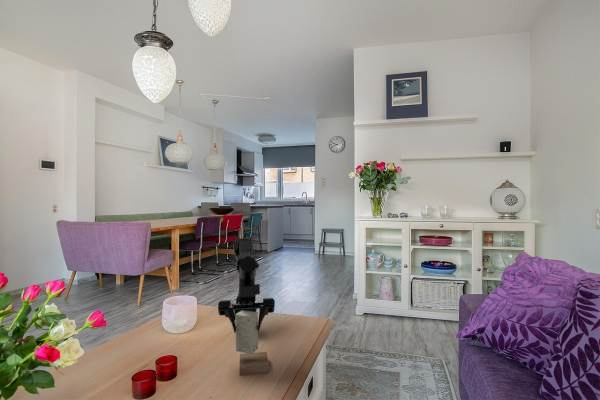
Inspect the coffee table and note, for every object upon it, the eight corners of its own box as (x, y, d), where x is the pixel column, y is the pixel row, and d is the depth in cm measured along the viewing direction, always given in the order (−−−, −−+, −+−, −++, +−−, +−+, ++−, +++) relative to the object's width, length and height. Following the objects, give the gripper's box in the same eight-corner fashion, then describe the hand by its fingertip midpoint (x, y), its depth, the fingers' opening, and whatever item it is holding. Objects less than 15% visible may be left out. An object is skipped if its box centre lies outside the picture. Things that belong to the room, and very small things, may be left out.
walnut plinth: (239, 361, 109) (239, 354, 109) (266, 359, 110) (266, 351, 110) (239, 375, 100) (239, 367, 100) (268, 372, 101) (268, 364, 101)
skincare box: (258, 348, 106) (258, 311, 106) (251, 354, 102) (252, 316, 102) (241, 345, 108) (242, 309, 108) (234, 351, 104) (235, 313, 104)
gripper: (218, 276, 107) (215, 322, 96) (274, 274, 110) (277, 318, 99) (220, 293, 115) (217, 337, 104) (272, 291, 118) (275, 333, 107)
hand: (246, 331), depth 103 cm, fingers closed on skincare box, 7 cm apart
